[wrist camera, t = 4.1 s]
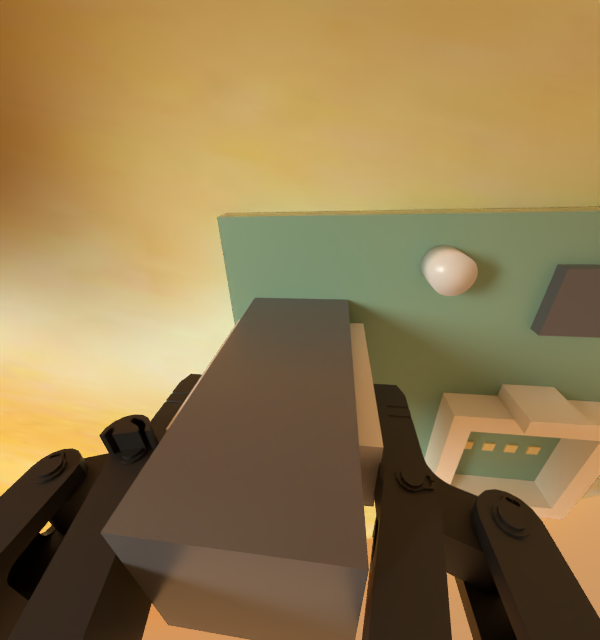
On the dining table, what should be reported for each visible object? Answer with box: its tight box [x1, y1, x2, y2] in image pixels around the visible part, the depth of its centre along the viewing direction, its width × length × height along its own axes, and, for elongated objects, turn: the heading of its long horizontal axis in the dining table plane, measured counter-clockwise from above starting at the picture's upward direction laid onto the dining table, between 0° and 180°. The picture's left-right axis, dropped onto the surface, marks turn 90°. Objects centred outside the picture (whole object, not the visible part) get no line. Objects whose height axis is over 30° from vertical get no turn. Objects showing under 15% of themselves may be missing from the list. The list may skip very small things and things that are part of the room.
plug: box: [100, 298, 369, 640], centre depth 10 cm, size 4×4×10 cm
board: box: [217, 207, 600, 481], centre depth 14 cm, size 17×19×3 cm
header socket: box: [424, 384, 600, 520], centre depth 15 cm, size 9×8×2 cm
